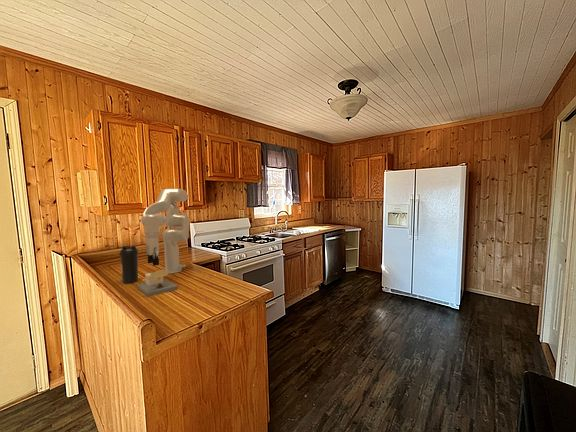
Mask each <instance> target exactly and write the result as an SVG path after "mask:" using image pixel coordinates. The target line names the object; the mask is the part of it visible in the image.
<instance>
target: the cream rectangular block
mask: <svg viewBox="0 0 576 432" xmlns="http://www.w3.org/2000/svg"><path fill="white" fill-rule="evenodd" d="M144 275H145V278H149V277H151V272H148V273H145V274H144ZM145 278H144V279H145ZM163 279H164V276H163V277H162V283H163ZM145 283H146V284H147V285H148V286H151V285H156V284H158V278H156V279H150V280H147V281H145Z"/></svg>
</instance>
